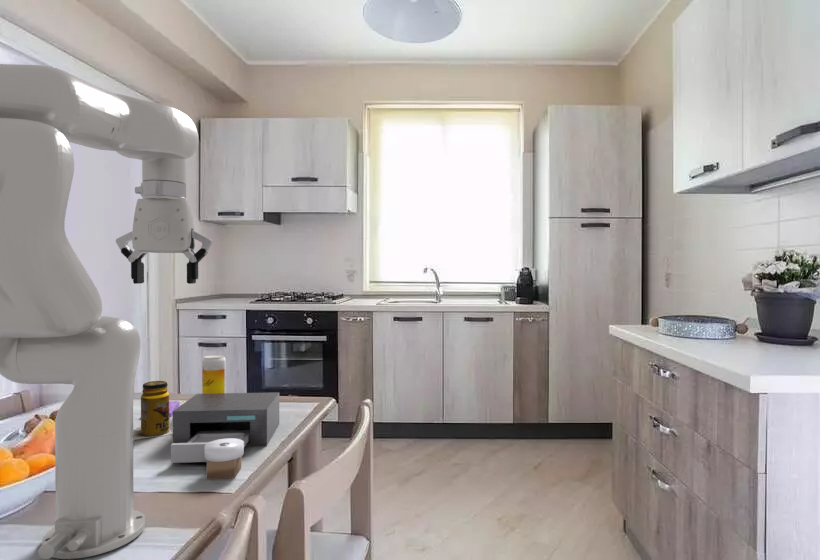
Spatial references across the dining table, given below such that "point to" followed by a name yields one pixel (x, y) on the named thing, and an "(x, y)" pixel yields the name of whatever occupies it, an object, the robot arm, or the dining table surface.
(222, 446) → the disc
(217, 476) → the walnut block
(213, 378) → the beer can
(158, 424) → the condiment
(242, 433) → the tray
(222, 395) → the player
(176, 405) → the sponges
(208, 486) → the dining table surface
